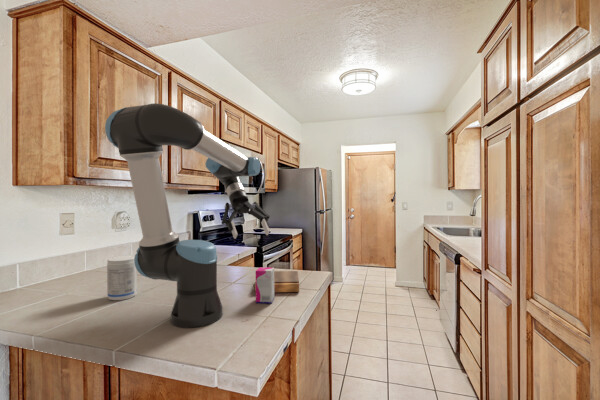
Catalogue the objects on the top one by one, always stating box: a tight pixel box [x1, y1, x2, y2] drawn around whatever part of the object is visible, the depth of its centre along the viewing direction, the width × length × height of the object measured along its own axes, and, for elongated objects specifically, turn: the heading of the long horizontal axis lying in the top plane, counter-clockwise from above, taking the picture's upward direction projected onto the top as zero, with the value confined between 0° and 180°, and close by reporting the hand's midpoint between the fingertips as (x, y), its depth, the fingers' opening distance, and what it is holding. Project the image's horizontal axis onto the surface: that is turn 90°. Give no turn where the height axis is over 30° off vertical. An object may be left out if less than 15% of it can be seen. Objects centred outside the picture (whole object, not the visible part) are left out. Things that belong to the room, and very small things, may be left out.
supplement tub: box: [106, 255, 138, 301], centre depth 106 cm, size 10×10×15 cm
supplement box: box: [255, 266, 275, 305], centre depth 102 cm, size 6×6×12 cm
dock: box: [254, 270, 300, 294], centre depth 118 cm, size 17×18×4 cm
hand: (252, 234), depth 110 cm, fingers open, 13 cm apart
